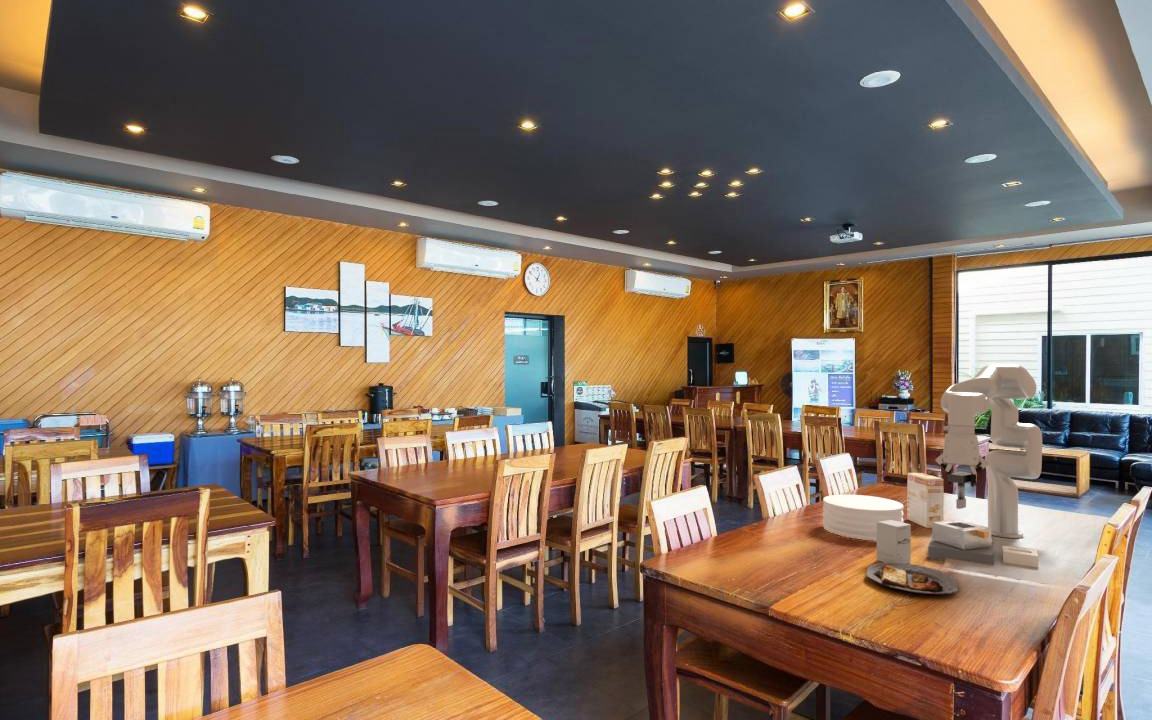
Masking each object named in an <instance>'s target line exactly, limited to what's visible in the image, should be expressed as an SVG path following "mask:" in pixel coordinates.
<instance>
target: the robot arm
mask: <svg viewBox="0 0 1152 720" xmlns="http://www.w3.org/2000/svg"><path fill="white" fill-rule="evenodd" d="M1036 392H1037V383H1036V381H1035V379H1034V378H1033V376H1032V375H1031V373H1030V372H1029V371H1028V370H1027V369H1026V368H1024V366H1022V365H1019V364H988V365H986V366H984V367H982V368H981V369H980V370H979V371H978V372H977V373H976V374H975V376H974V377H973V378H970V379H967V380H963V381H960V382H957V383H954V384H952V385H950V386H949V387H948V388H947V389H945V391H944V392H943V394H942V396H941V399H940V407H941V409H942V410H943V411H944V412H945V413H947V416H948V417H947V418H948V421H947V424H948V425H946V426H945V425H944V426H943V427H942V428H943V431H947V433H945V434H944V441H943V451H942V453H941V454H940V455H939V456H938V457H937V458H935V462H936V463H937V464H938V465H940V467H942V468H943V469H944V470H945V472H946V475H947V474H950V473H954V472H953V470H952V467H953V465H956V466H965V467H966V466H968V467H969V468H970V470H971V473H972V474H971V482H970V487H974V486H975V485H976V484H977V474H978V473H979V472H980V471H982V470H984V469H985V470H986V475H987V476H986V479H987V527H989V528H991V536H994V537H1000V538H1005V539H1006V538H1009V539H1020V538H1023V537H1024V533H1023V532H1022V531H1020V530H1019V488H1018V486H1017V484H1016V483H1015V482H1014V480H1013V479H1012V478H1016V479H1017V478H1019V479H1028V480H1036V479H1038V478H1039V477H1040V475H1041V473H1042V468H1043V467H1042V463H1043V433H1042V431H1041V429H1040V427H1039V426H1038V425H1036V424H1033V423H1025V422H1024V423H1023V422H1020V421H1019V409H1018V406H1017V405H1016V404H1015V403H1014V402H1013V401H1012V399H1014V400H1030V399H1032V398H1034V397H1035V395H1036ZM990 408H991V409H990ZM989 409H990V410H991V418H990V419H991V421H990V441H991V443H992V444H993V445H995V446H996V447H1001V448H1009V449H1010V448H1011V449H1021V450H1024V451H1025V452H1019V451H1010V450H1003V449H1002V450H1001V449H1000V450H998V449H997V450H996V449H995V450H991V451H989V452H987V453H986V454H985V457H984V458H983V456H982V455H981V454H980V444H979V440H978V439H979V438H978V435H976V434H975V433H976V432H975V430H976V429H975V415H977V416H979V415H980V416H981V415H984V414H986V413H987V412H988V411H989ZM979 463H981V464H980V465H979V466H978V467H976V466H977V465H978V464H979ZM952 484H953V482H949V481H948V485H952Z"/></svg>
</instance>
